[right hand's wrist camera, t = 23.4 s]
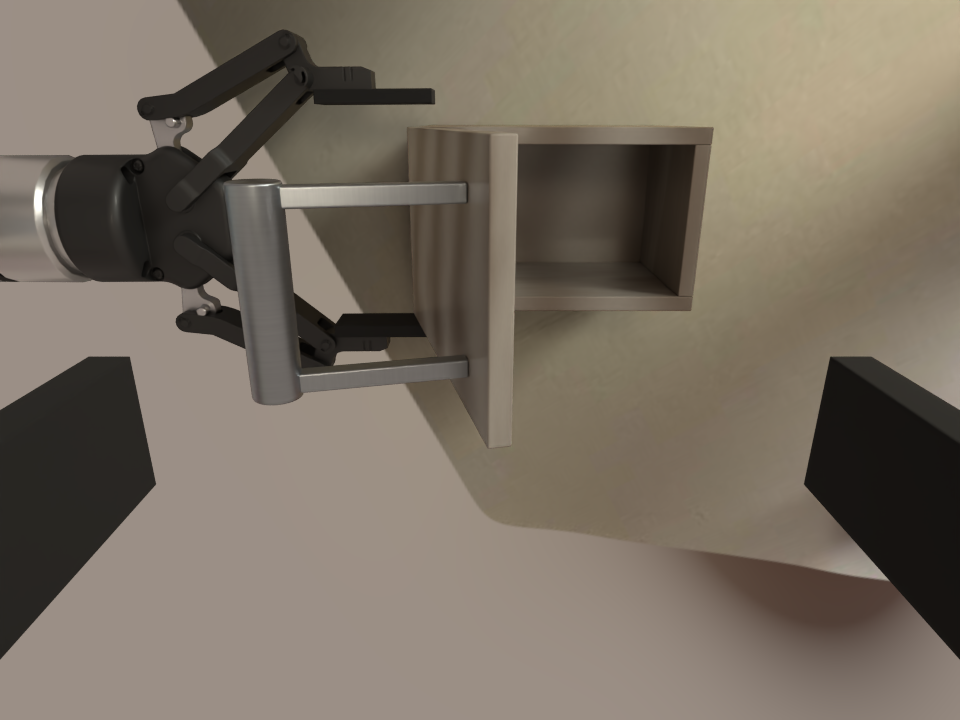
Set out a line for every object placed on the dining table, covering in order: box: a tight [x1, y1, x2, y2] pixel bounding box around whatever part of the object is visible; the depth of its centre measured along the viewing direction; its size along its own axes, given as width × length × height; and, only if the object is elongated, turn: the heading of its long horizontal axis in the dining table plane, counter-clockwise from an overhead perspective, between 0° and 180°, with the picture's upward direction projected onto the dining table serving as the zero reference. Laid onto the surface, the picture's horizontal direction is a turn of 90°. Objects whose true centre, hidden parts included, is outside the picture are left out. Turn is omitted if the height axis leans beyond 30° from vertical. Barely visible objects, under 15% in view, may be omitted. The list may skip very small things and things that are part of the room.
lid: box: [223, 127, 518, 449], centre depth 27 cm, size 17×10×8 cm
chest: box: [420, 125, 714, 311], centre depth 41 cm, size 16×10×10 cm, turn 90°
